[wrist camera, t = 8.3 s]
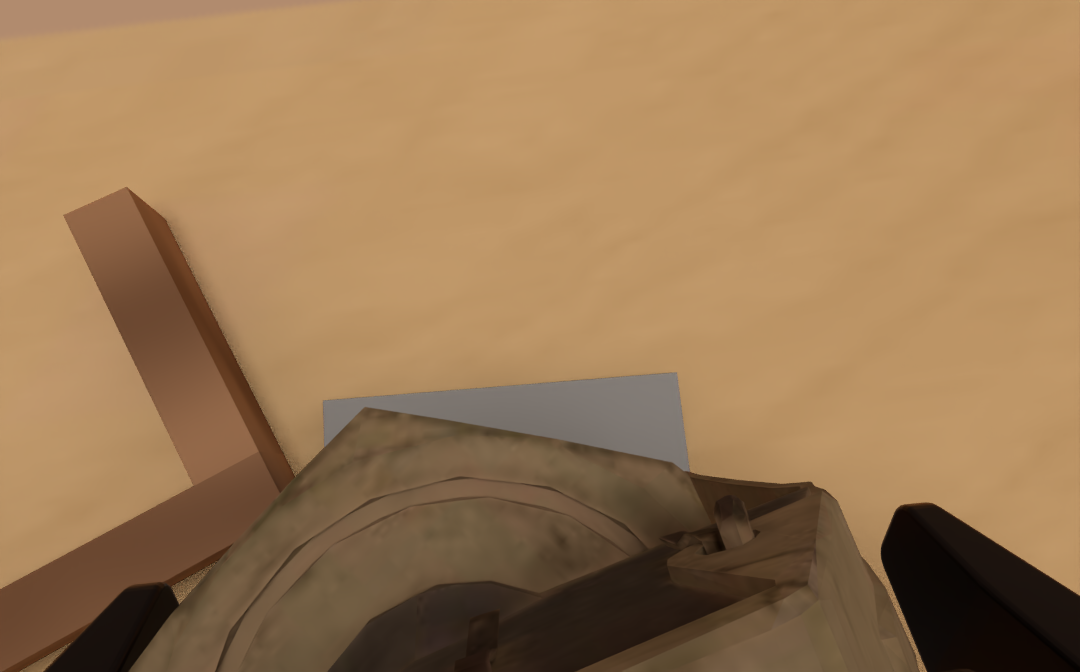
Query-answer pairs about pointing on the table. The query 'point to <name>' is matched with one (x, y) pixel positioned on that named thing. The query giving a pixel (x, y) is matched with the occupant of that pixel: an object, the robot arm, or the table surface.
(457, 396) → the felt mat
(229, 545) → the brown flat open frame
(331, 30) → the table surface
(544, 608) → the grenade model
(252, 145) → the table surface
